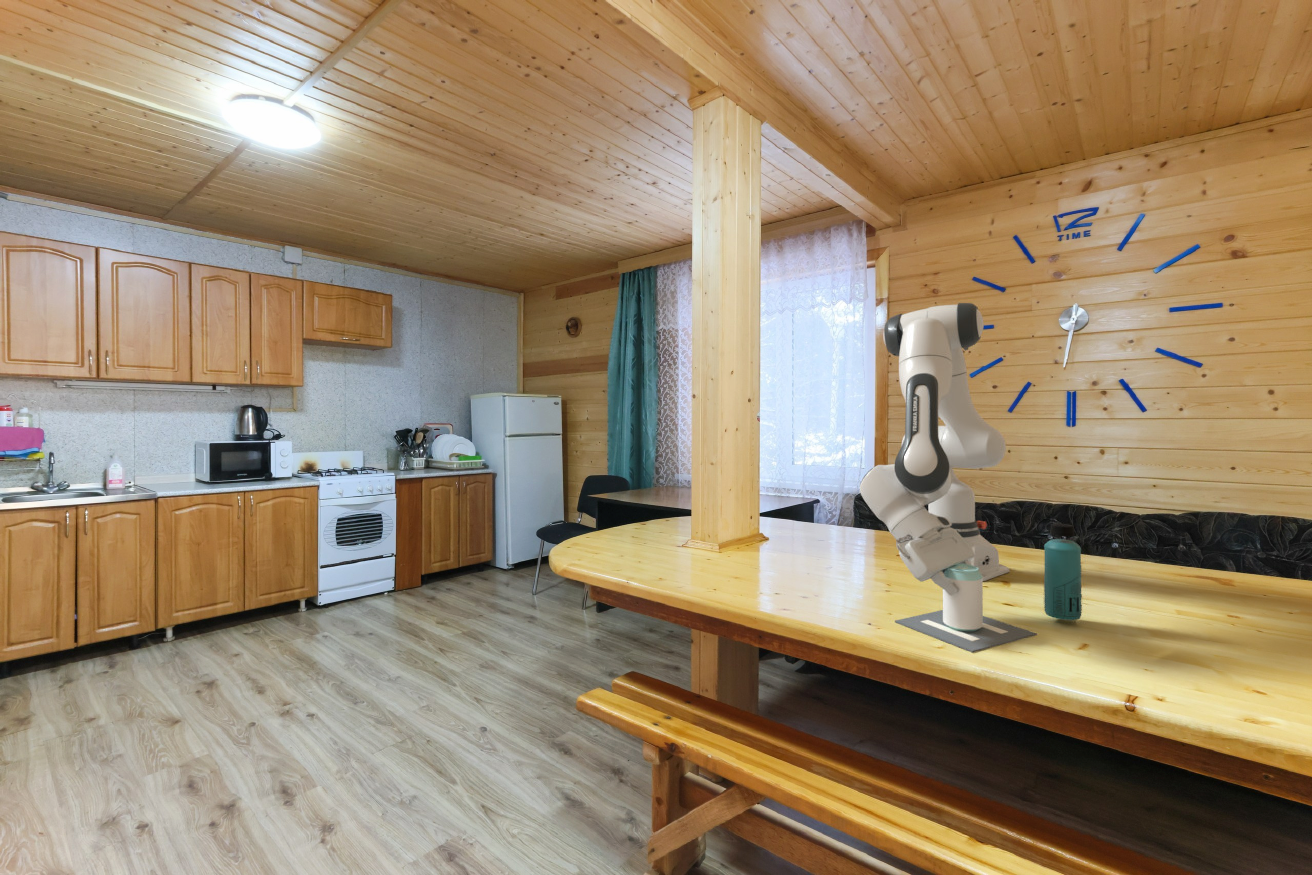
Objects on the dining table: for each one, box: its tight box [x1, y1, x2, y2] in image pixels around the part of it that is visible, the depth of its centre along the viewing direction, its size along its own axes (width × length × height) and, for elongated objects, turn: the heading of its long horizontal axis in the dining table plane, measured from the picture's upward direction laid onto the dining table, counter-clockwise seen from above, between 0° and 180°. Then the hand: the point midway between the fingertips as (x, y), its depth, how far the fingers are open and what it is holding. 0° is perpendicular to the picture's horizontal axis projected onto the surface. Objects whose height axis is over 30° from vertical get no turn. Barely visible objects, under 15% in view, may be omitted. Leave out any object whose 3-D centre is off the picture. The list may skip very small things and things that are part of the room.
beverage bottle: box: [1043, 523, 1083, 621], centre depth 123 cm, size 6×7×20 cm
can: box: [942, 564, 984, 632], centre depth 121 cm, size 7×7×12 cm
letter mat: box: [894, 609, 1038, 653], centre depth 121 cm, size 18×18×1 cm
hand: (966, 588), depth 120 cm, fingers open, 8 cm apart
